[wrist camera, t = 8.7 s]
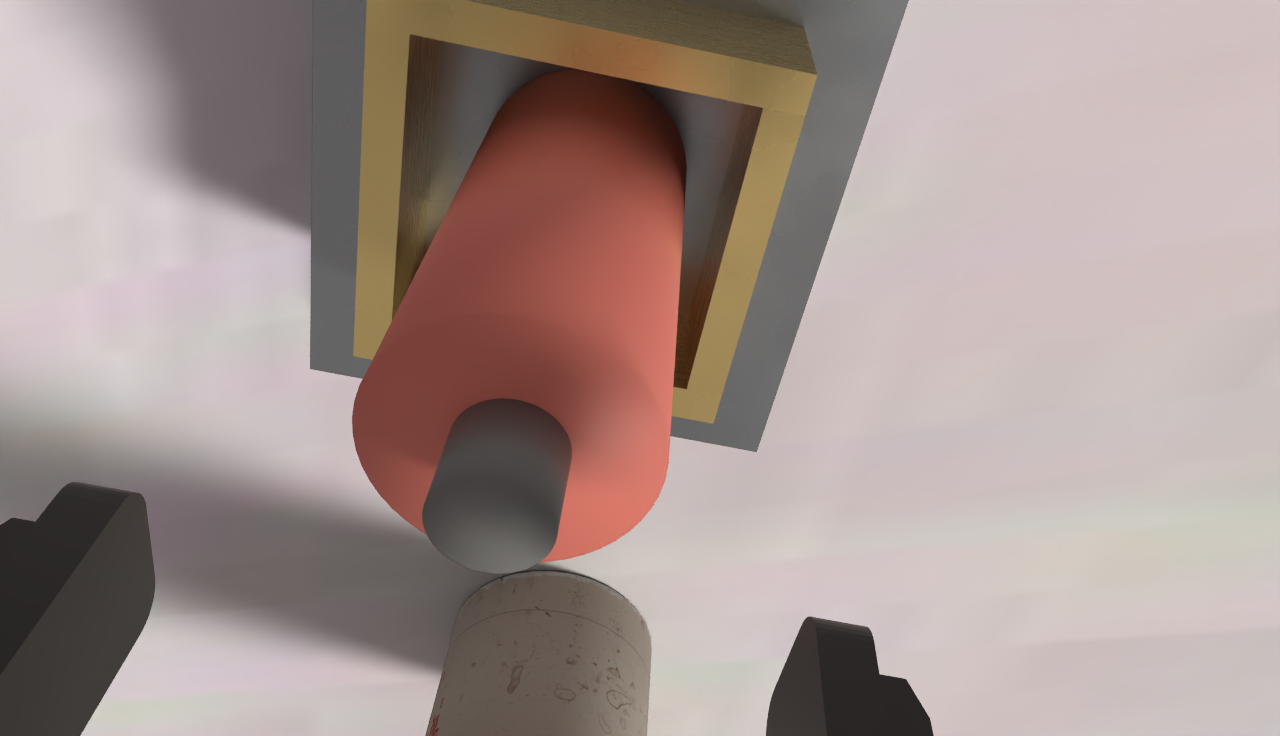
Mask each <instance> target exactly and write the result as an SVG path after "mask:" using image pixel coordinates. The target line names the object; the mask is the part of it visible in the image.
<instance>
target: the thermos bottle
mask: <svg viewBox="0 0 1280 736" xmlns="http://www.w3.org/2000/svg"><path fill="white" fill-rule="evenodd" d="M650 668H651V636H650V633H649V631H648V628H647V625H646V622H645V621H644V619H643V618H642V616H641V615H640V613H639V612H638V610H637V609H636V608H635V607H634V606H633V605H632V604H631V603H630V602H629V601H628V600H627V599H626V598H625V597H623V596H622V595H620V594H619V593H617V592H616V591H614V590H613V589H611V588H610V587H608V586H605V585H603V584H601V583H599V582H597V581H594V580H592V579H589V578H585V577H582V576H578V575H575V574H570V573H563V572H556V571H530V572H523V573H516V574H512V575H509V576H505V577H502V578H499V579H496V580H494V581H492V582H490V583H488V584H487V585H485V586H483V587H481V588H480V589H479V590H477V591H476V592H475V593H474V594H473V595H471V596H470V597H469V598H468V600H467V601H466V602H465V604H464V605H463V607H462V608H461V609H460V612H459V614H458V617H457V620H456V622H455V626H454V630H453V633H452V637H451V641H450V645H449V649H448V652H447V656H446V660H445V664H444V668H443V671H442V675H441V679H440V683H439V687H438V690H437V694H436V698H435V702H434V706H433V709H432V713H431V717H430V721H429V725H428V728H427V732H426V736H647V723H648V705H649V687H650Z"/></svg>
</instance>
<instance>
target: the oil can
mask: <svg viewBox="0 0 1280 736" xmlns="http://www.w3.org/2000/svg"><path fill="white" fill-rule="evenodd" d="M686 176H687V164H686V154H685V150H684V146H683V142H682V139H681V137H680V134H679V132H678V129H677V128H676V126H675V124H674V122H673V121H672V119H671V117H670V116H669V115H668V113H667V112H666V111H665V109H664V108H663V107H662V106H661V105H660V104H659V103H658V102H657V101H656V100H655V98H654V97H652V96H651V95H650V94H649V93H647V92H646V91H645V90H643V89H642V88H641V87H639V86H637V85H636V84H634V83H632V82H631V81H628V80H626V79H623V78H618V77H613V76H608V75H603V74H599V73H594V72H589V71H584V70H579V69H570V70H561V71H557V72H553V73H549V74H546V75H544V76H541V77H538V78H536V79H534V80H532V81H531V82H529V83H527V84H525V85H524V86H522V87H521V88H520V89H518V90H517V91H516V92H514V93H513V94H512V95H511V96H510V97H509V98H508V99H507V100H506V101H505V102H504V104H503V105H502V107H501V108H500V109H499V111H498V112H497V114H496V116H495V118H494V120H493V121H492V123H491V125H490V127H489V129H488V131H487V133H486V135H485V137H484V139H483V141H482V143H481V145H480V147H479V149H478V151H477V153H476V155H475V157H474V159H473V161H472V163H471V165H470V167H469V169H468V171H467V173H466V175H465V177H464V179H463V181H462V183H461V185H460V187H459V189H458V191H457V193H456V195H455V197H454V199H453V201H452V203H451V205H450V207H449V209H448V211H447V213H446V215H445V217H444V219H443V221H442V223H441V225H440V227H439V229H438V231H437V233H436V235H435V237H434V239H433V241H432V242H431V244H430V246H429V248H428V250H427V252H426V254H425V256H424V258H423V260H422V262H421V264H420V266H419V268H418V270H417V272H416V274H415V276H414V278H413V280H412V282H411V284H410V286H409V288H408V290H407V292H406V294H405V296H404V298H403V300H402V302H401V304H400V306H399V308H398V310H397V312H396V314H395V316H394V318H393V320H392V322H391V324H390V326H389V328H388V330H387V332H386V334H385V336H384V338H383V340H382V342H381V344H380V346H379V348H378V350H377V352H376V354H375V356H374V358H373V360H372V362H371V364H370V366H369V368H368V370H367V372H366V374H365V376H364V378H363V380H362V382H361V384H360V386H359V389H358V392H357V395H356V398H355V401H354V408H353V416H352V424H353V437H354V442H355V447H356V451H357V454H358V457H359V459H360V462H361V465H362V467H363V469H364V471H365V473H366V475H367V476H368V478H369V480H370V482H371V483H372V484H373V486H374V487H375V489H376V490H377V492H378V493H379V494H380V496H381V497H382V498H383V499H384V500H385V501H386V502H387V503H388V504H389V505H390V507H391V508H392V509H393V510H395V511H396V512H397V513H398V514H399V515H400V516H401V517H403V518H404V519H405V520H406V521H407V522H409V523H410V524H412V525H413V526H415V527H416V528H417V529H419V530H420V531H422V532H424V533H425V534H427V536H428V538H429V539H430V541H431V542H432V544H433V545H434V546H435V547H436V548H437V549H438V550H439V551H440V552H441V553H442V554H443V555H445V556H446V557H447V558H449V559H450V560H452V561H454V562H456V563H457V564H459V565H462V566H464V567H466V568H469V569H472V570H476V571H480V572H486V573H497V574H502V573H513V572H518V571H522V570H525V569H528V568H530V567H532V566H534V565H536V564H538V563H539V562H549V561H556V560H563V559H568V558H572V557H576V556H580V555H584V554H587V553H590V552H592V551H595V550H598V549H600V548H602V547H604V546H606V545H608V544H610V543H612V542H614V541H616V540H617V539H619V538H620V537H622V536H623V535H625V534H626V533H627V532H629V531H630V530H631V529H632V528H633V527H635V526H636V525H637V524H638V523H639V522H640V521H641V520H642V519H643V518H644V516H645V515H646V514H647V513H648V512H649V510H650V509H651V508H652V506H653V505H654V503H655V501H656V500H657V498H658V496H659V494H660V492H661V489H662V487H663V484H664V482H665V478H666V473H667V469H668V463H669V447H670V431H671V415H672V399H673V384H674V368H675V352H676V336H677V320H678V304H679V288H680V273H681V257H682V241H683V225H684V209H685V193H686Z"/></svg>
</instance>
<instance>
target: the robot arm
mask: <svg viewBox="0 0 1280 736" xmlns="http://www.w3.org/2000/svg"><path fill="white" fill-rule="evenodd" d="M154 592H155V574H154V566H153V558H152V550H151V542H150V534H149V526H148V518H147V510H146V504H145V500H144V498H143V496H142V495H141V494H139V493H135V492H129V491H124V490H118V489H113V488H107V487H102V486H96V485H91V484H85V483H80V482H72V483H69V484H68V485H66V486H65V487H64V488H62V489H61V491H60V492H59V493H58V494H57V495H56V497H55V498H54V499H53V500H52V502H51V503H50V504H49V505H48V507H47V508H46V509H45V510H44V512H43V513H42V514H41V515H40V517H39V518H38V519H37V521H36V522H33V521H28V520H22V519H17V518H11V519H9V520H8V521H6V522H5V523H3V524H2V525H0V736H80V735H81V733H82V732H83V730H84V728H85V727H86V725H87V723H88V721H89V720H90V718H91V716H92V715H93V713H94V711H95V710H96V708H97V706H98V705H99V703H100V701H101V700H102V698H103V696H104V694H105V693H106V691H107V689H108V688H109V686H110V684H111V683H112V681H113V679H114V678H115V676H116V674H117V673H118V671H119V669H120V668H121V666H122V664H123V662H124V661H125V659H126V657H127V656H128V654H129V652H130V651H131V649H132V647H133V646H134V644H135V642H136V641H137V639H138V637H139V635H140V634H141V632H142V630H143V628H144V626H145V624H146V621H147V619H148V616H149V613H150V610H151V606H152V603H153V598H154ZM766 736H933V731H932V726H931V721H930V718H929V716H928V715H927V713H926V711H925V710H924V708H923V706H922V705H921V703H920V702H919V700H918V698H917V697H916V695H915V693H914V692H913V690H912V688H911V687H910V685H909V683H908V682H907V680H906V679H902V678H897V677H891V676H885V675H880V674H879V670H878V663H877V657H876V651H875V645H874V639H873V636H872V633H871V631H870V629H869V628H868V627H865V626H859V625H853V624H848V623H842V622H837V621H831V620H826V619H820V618H815V617H807V618H806V619H805V620H804V622H803V624H802V626H801V628H800V630H799V633H798V635H797V637H796V640H795V642H794V644H793V647H792V649H791V651H790V654H789V656H788V658H787V661H786V663H785V666H784V668H783V670H782V673H781V675H780V677H779V680H778V682H777V684H776V687H775V689H774V692H773V695H772V698H771V702H770V707H769V712H768V719H767V730H766Z"/></svg>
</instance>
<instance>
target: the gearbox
mask: <svg viewBox="0 0 1280 736" xmlns="http://www.w3.org/2000/svg"><path fill="white" fill-rule="evenodd" d="M908 1H909V0H313V86H312V208H311V330H310V369H314V370H319V371H324V372H330V373H335V374H340V375H346V376H351V377H357V378H362V379H363V378H364V376H365V374H366V372H367V370H368V368H369V366H370V364H371V362H372V360H373V358H374V356H375V354H376V352H377V350H378V348H379V346H380V344H381V342H382V340H383V338H384V336H385V334H386V332H387V330H388V328H389V326H390V324H391V322H392V320H393V318H394V316H395V314H396V312H397V310H398V308H399V306H400V304H401V302H402V300H403V298H404V296H405V294H406V292H407V290H408V288H409V286H410V284H411V282H412V280H413V278H414V276H415V274H416V272H417V270H418V268H419V266H420V264H421V262H422V260H423V258H424V256H425V254H426V252H427V250H428V248H429V246H430V244H431V242H432V241H433V239H434V237H435V235H436V233H437V231H438V229H439V227H440V225H441V223H442V221H443V219H444V217H445V215H446V213H447V211H448V209H449V207H450V205H451V203H452V201H453V199H454V197H455V195H456V193H457V191H458V189H459V187H460V185H461V183H462V181H463V179H464V177H465V175H466V173H467V171H468V169H469V167H470V165H471V163H472V161H473V159H474V157H475V155H476V153H477V151H478V149H479V147H480V145H481V143H482V141H483V139H484V137H485V135H486V133H487V131H488V129H489V127H490V125H491V123H492V121H493V120H494V118H495V116H496V114H497V112H498V111H499V109H500V108H501V107H502V105H503V104H504V102H505V101H506V100H507V99H508V98H509V97H510V96H511V95H512V94H513V93H514V92H516V91H517V90H518V89H520V88H521V87H522V86H524V85H525V84H527V83H529V82H531V81H532V80H534V79H536V78H538V77H541V76H544V75H546V74H549V73H553V72H557V71H561V70H570V69H579V70H584V71H589V72H594V73H599V74H603V75H608V76H613V77H618V78H623V79H626V80H628V81H631V82H632V83H634V84H636V85H637V86H639V87H641V88H642V89H643V90H645V91H646V92H647V93H649V94H650V95H651V96H652V97H654V98H655V100H656V101H657V102H658V103H659V104H660V105H661V106H662V107H663V108H664V109H665V111H666V112H667V113H668V115H669V116H670V117H671V119H672V121H673V122H674V124H675V126H676V128H677V129H678V132H679V134H680V137H681V139H682V142H683V146H684V150H685V154H686V164H687V176H686V193H685V209H684V225H683V241H682V257H681V273H680V288H679V304H678V320H677V336H676V352H675V368H674V384H673V399H672V415H671V431H670V436H674V437H679V438H684V439H690V440H695V441H700V442H706V443H711V444H717V445H722V446H727V447H733V448H738V449H743V450H749V451H754V452H757V449H758V446H759V443H760V440H761V437H762V434H763V431H764V429H765V426H766V423H767V420H768V417H769V414H770V411H771V408H772V405H773V402H774V399H775V396H776V393H777V390H778V387H779V384H780V381H781V378H782V375H783V372H784V369H785V366H786V363H787V360H788V357H789V354H790V351H791V348H792V345H793V342H794V339H795V336H796V333H797V330H798V328H799V325H800V322H801V319H802V316H803V313H804V310H805V307H806V304H807V301H808V298H809V295H810V292H811V289H812V286H813V283H814V280H815V277H816V274H817V271H818V268H819V265H820V262H821V259H822V256H823V253H824V250H825V247H826V244H827V241H828V238H829V235H830V232H831V229H832V227H833V224H834V221H835V218H836V215H837V212H838V209H839V206H840V203H841V200H842V197H843V194H844V191H845V188H846V185H847V182H848V179H849V176H850V173H851V170H852V167H853V164H854V161H855V158H856V155H857V152H858V149H859V146H860V143H861V140H862V137H863V134H864V131H865V128H866V126H867V123H868V120H869V117H870V114H871V111H872V108H873V105H874V102H875V99H876V96H877V93H878V90H879V87H880V84H881V81H882V78H883V75H884V72H885V69H886V66H887V63H888V60H889V57H890V54H891V51H892V48H893V45H894V42H895V39H896V36H897V33H898V30H899V27H900V25H901V22H902V19H903V16H904V13H905V10H906V7H907V4H908Z"/></svg>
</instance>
